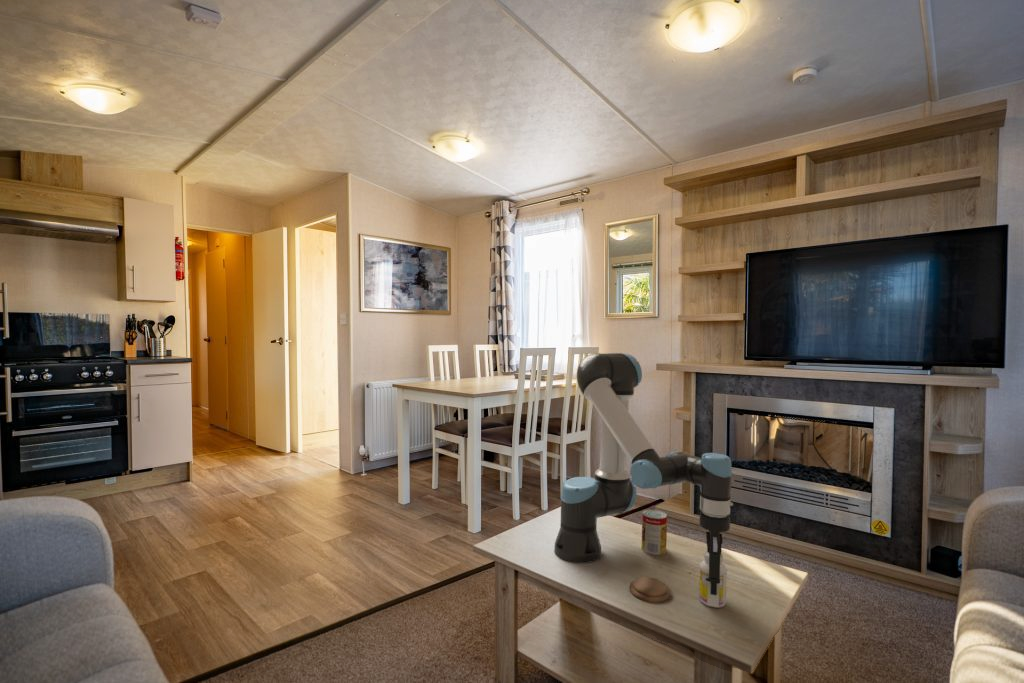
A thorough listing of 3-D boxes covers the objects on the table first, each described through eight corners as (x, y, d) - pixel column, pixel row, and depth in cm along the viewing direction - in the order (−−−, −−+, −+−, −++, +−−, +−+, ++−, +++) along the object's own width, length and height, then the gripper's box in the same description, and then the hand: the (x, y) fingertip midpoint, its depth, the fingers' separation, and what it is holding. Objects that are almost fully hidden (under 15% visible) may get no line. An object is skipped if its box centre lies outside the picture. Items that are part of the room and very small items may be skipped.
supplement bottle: (707, 593, 138) (708, 546, 138) (730, 603, 133) (732, 555, 133) (694, 600, 134) (695, 553, 134) (717, 611, 129) (718, 562, 129)
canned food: (665, 546, 169) (666, 511, 169) (666, 556, 161) (667, 519, 161) (641, 543, 171) (642, 508, 171) (641, 553, 163) (642, 516, 163)
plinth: (627, 597, 135) (627, 590, 135) (631, 579, 145) (632, 572, 145) (670, 606, 131) (670, 598, 131) (671, 586, 142) (671, 579, 142)
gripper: (733, 528, 123) (730, 620, 123) (727, 503, 141) (725, 584, 142) (700, 523, 126) (697, 614, 126) (699, 499, 144) (697, 579, 144)
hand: (712, 598), depth 134 cm, fingers closed on supplement bottle, 7 cm apart
